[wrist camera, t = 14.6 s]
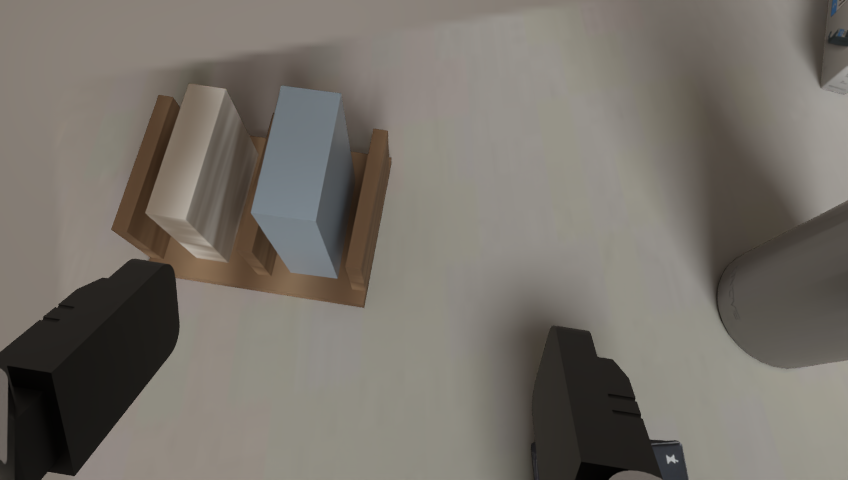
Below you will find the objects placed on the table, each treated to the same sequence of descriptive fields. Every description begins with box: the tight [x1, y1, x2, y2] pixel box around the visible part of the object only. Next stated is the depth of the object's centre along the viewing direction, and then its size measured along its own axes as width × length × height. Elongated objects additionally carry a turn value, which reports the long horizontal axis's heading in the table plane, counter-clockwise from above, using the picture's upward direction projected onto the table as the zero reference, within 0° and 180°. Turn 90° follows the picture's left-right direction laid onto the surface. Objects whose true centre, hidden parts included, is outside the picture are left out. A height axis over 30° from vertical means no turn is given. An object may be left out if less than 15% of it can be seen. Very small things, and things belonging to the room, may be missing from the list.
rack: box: [111, 83, 391, 308], centre depth 39 cm, size 16×12×10 cm
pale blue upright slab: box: [251, 85, 355, 279], centre depth 37 cm, size 4×8×12 cm, turn 173°
